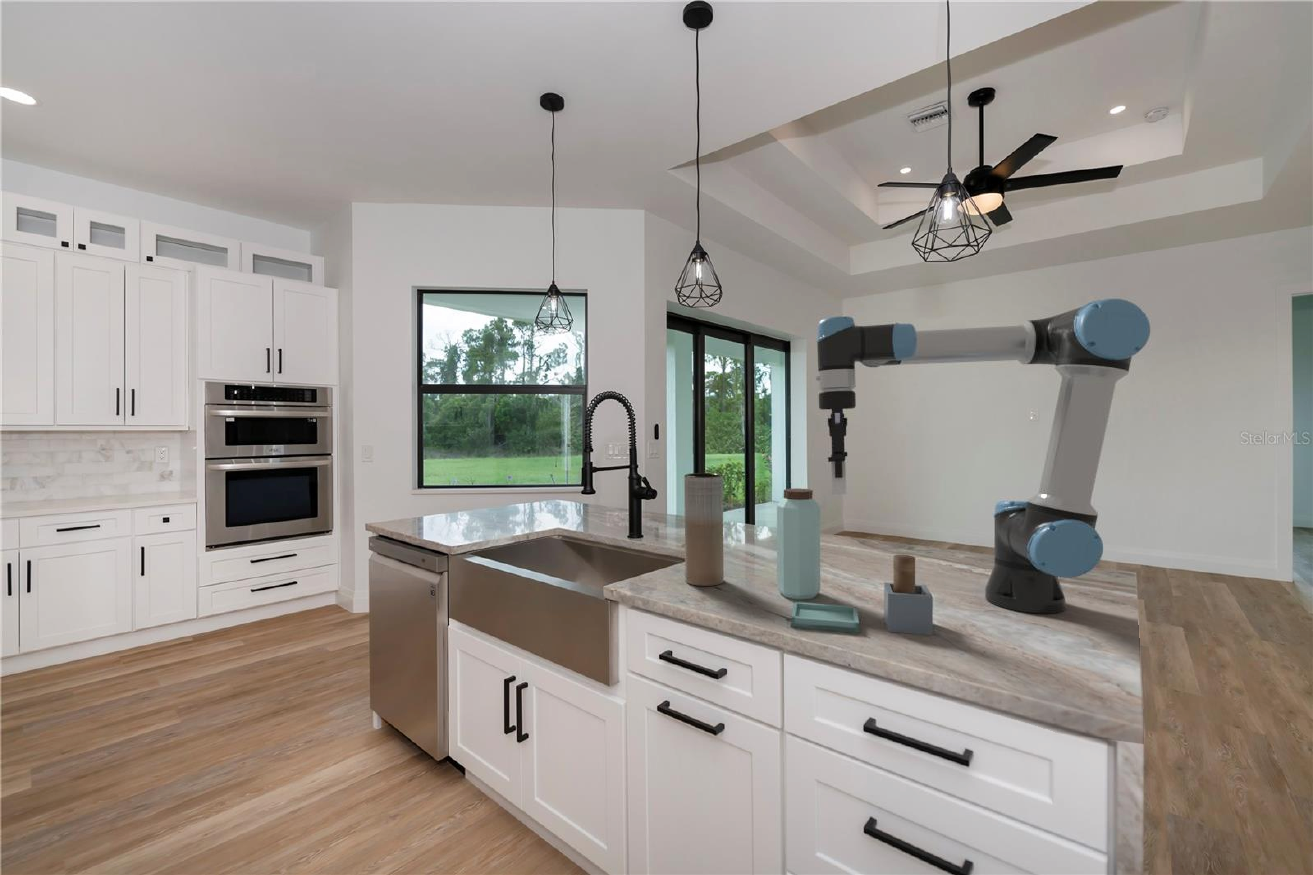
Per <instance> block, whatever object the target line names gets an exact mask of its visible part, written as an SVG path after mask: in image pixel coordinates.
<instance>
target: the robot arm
mask: <svg viewBox="0 0 1313 875" xmlns="http://www.w3.org/2000/svg"><path fill="white" fill-rule="evenodd" d="M854 320H855V319H854V318H853V317H852V316H847V315H846V316H842V315H841V316H838V315H837V316H831V317H826V318H823V319H821V320H820V321H819V322H818V324H817V341H816V343H817V345H816V346H817V372H818V375H816V376H815V378H814V379H815V381H818V389H819V390H820V391H821V392H819V394H818V408H819V409H820V410H831V413H830V417H828V418H827V426H828V430H829V432H828V433H829V434H828V435H829V436H830V437H831V456H828V457H827V460H828V462H829V463H831V494H833V495H847V479H846V478H847V477H846V476H847V475H846V473H847V472H846V471H847V470H846V468H847V467H846V457H848V451H845V437H846V436H847V426H848V417H845V413H844V410H848V409H849V410H851V409H855V408H856V406H857V404H856V403H857V402H856V401H857V400H856V392H855V390H853V389H855V388H856V385H857V384H856V367H855V364H856V363H860V364H861V365H863V366H865V367H867V368H878V367H880V366H881V367H882V366H897V365H923V364H925V365H926V364H947V363H948V364H949V363H950V364H951V363H954V364H955V363H976V362H977V363H978V362H980V363H981V362H999V361H1000V362H1001V361H1005V362H1007V361H1018V362H1019V363H1020V364H1022V365H1053V366H1054V365H1055V366H1054V369H1055V370H1056V371H1057V372H1058V374H1059V375H1060V376H1061V382H1060V387H1059V391H1058V396H1057V400H1056V405H1055V410H1054V417H1053V420H1052V425H1051V431H1050V436H1049V440H1048V445H1047V450H1046V454H1045V460H1044V465H1043V469H1042V470H1043V471H1042V475H1041V480H1040V484H1039V489H1038V492H1037V494H1036V495H1034V496H1032V497H1030V498H1028V499H1027V500H1026V501H1024V500H1020V501H1018V500H1000V501H998V502H997V503H996V504H995V506H994V507H995V508H994V513H993V518H994V541H993V542H994V555H993V556H994V558H993V559H994V561H993V563H994V565H993V568H992V570H991V573H990V576H989V577H988V581H987V583H986V585H985V588H984V590H985V592H984V593H985V595H984V596H985V597H984V598H985V600H987V601H988V602H990V603H991V604H993V605H994V606H995V605H996V606H999V607H1000V608H1005V609H1008V610H1011V611H1012V610H1013V611H1018V612H1024V613H1033V614H1057V613H1061V612H1064V611H1065V610H1066V597H1065V593H1064V592H1063V588H1062V584H1061V582H1060V580H1059V578H1063V579H1064V578H1065V579H1067V578H1068V579H1071V578H1077V577H1081V576H1083V575H1084V574H1087V573H1089V572H1090V571H1092V570H1094V568H1095V567H1096V566H1097V565H1098V564H1099V563H1100V561H1101V559H1102V557H1103V553H1104V544H1103V540H1102V537H1101V536H1100V534H1099V533H1098V531H1097V530H1096V527H1097V526H1096V525H1097V521H1098V516H1099V513H1098V512H1097V511H1096V509H1095V507H1094V506H1093V505H1092V503H1091V501H1092V496H1093V491H1094V488H1095V483H1096V477H1097V473H1098V470H1099V463H1100V458H1101V455H1102V454H1101V453H1102V450H1103V445H1104V441H1105V440H1104V439H1105V436H1106V431H1107V426H1108V422H1109V417H1110V414H1111V413H1110V411H1111V407H1112V403H1113V398H1114V393H1115V390H1116V384H1117V382H1118V381H1119V380H1121V379H1122V378H1124V377H1125V376H1127V375H1129V372H1130V366H1131V364H1132V363H1131V362H1132V358H1133V356H1135V355H1136V354H1138V353H1139V352H1140V351H1141V350H1142V349H1144V347H1145V346H1146V345H1147V343H1148V341H1149V340H1150V335H1151V325H1150V320H1149V317H1148V316H1147V314H1146V313H1145V312H1143V310H1142V309H1141V308H1140V307H1139V306H1138V305H1137V304H1136V303H1133V302H1132V301H1129V300H1126V299H1121V298H1106V299H1098V300H1095V301H1091V302H1088V303H1086V304H1085V305H1083V306H1080V307H1078V308H1074V309H1072V310H1069V311H1066V312H1063V313H1059V314H1058V315H1057V314H1056V315H1054V316H1050V317H1044V318H1040V319H1033V320H1032V319H1031V320H1028V319H1027V320H1023V321H1022V322H1021V323H1020V324H1019V325H1009V326H1008V325H1007V326H1005V325H1004V326H990V327H989V326H987V327H971V328H969V327H968V328H951V329H950V328H949V329H933V330H932V329H930V330H916V328H915V326H914V324H911V323H899V322H896V323H888V324H887V323H886V324H875V325H874V324H873V325H862V326H861V325H860V326H859V325H856V323H855V321H854Z"/></svg>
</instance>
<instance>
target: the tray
mask: <svg viewBox="0 0 1313 875" xmlns="http://www.w3.org/2000/svg"><path fill="white" fill-rule="evenodd" d="M859 620H860V619H859V614H858V608H857V606H849V605H838V604H825V603H812V602H802V601H801V602H800V601H799V602H798V601H793V605H792V609H791V615H790V627H791V628H796V629H807V630H818V631H821V630H822V631H829V632H830V631H831V632H841V633H850V634H860V621H859Z"/></svg>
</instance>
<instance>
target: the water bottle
mask: <svg viewBox="0 0 1313 875" xmlns="http://www.w3.org/2000/svg"><path fill="white" fill-rule="evenodd" d="M813 493H814V491H813V489H809V488H798V487H797V488H796V487H795V488H786V489H784V490H783V497H782V499H781V500H780V501H779V502H778V504H777V505H776V569H777V570H776V581H777V584H776V587H777V590H778V591H779V593H780V594H781V595H783V596H784V597H785V598H789V599H795V600H800V601H801V600H811V599H814V598H815V597H816V596H817V595H818V594H819V593H820V591H821V505H820V504H818V503H817V502H816V500H815V499H814V498H813Z"/></svg>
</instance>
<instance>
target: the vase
mask: <svg viewBox="0 0 1313 875" xmlns="http://www.w3.org/2000/svg"><path fill="white" fill-rule="evenodd" d="M683 478H684V480H683V482H684V483H683V484H684V562H685V564H684V565H685V567H684V570H685V572H684V573H685V574H684V575H685V582H686V583H687V584H689V585H692V586H697V587H714V586H718V585H721V584H723V583H724V572H725V571H724V565H725V564H724V475H723V474H721V473H716V472H715V473H714V472H695V473H693V472H692V473H687V474H684V477H683Z"/></svg>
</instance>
